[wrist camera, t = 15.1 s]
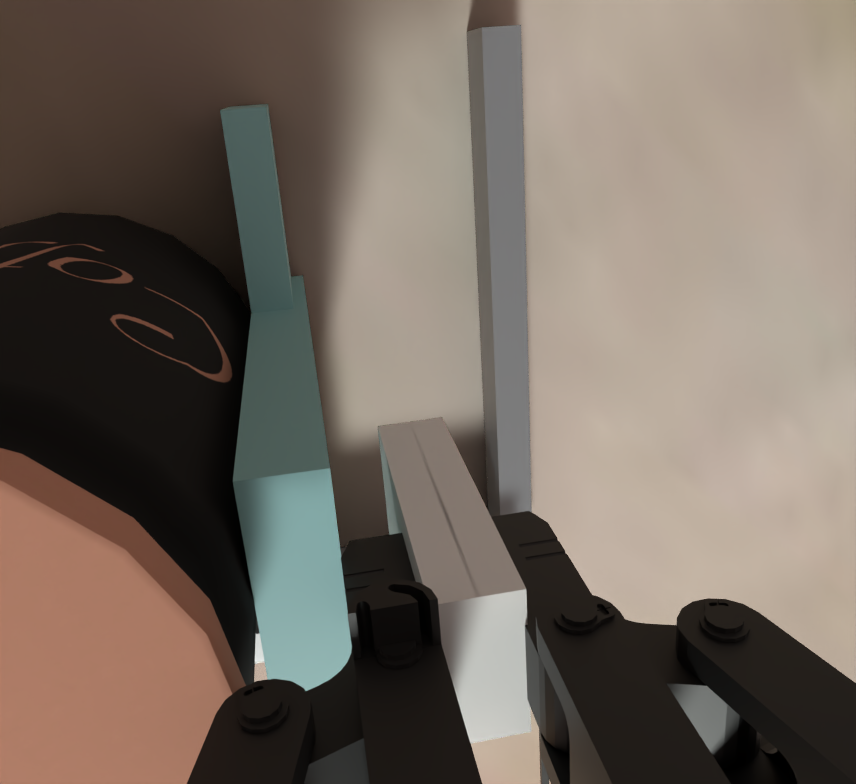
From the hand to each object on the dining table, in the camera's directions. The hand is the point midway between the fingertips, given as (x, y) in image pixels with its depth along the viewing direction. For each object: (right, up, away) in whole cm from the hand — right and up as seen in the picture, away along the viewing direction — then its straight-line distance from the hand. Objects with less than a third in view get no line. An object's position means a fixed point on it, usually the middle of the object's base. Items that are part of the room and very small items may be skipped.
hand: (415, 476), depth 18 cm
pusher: (-5, +4, +10) cm, 12 cm away
